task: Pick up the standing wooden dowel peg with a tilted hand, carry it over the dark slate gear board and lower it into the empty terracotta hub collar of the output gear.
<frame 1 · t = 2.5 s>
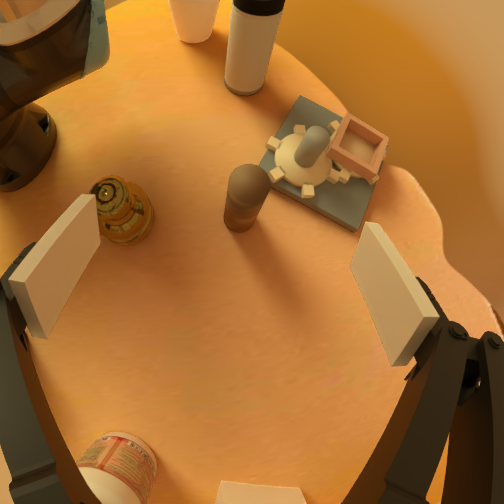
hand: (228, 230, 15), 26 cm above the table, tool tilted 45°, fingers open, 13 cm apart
wooden dowel peg: (239, 217, 42), on the table
fruit juice: (125, 458, 34), on the table
travel mug: (244, 82, 46), on the table
foam cup: (194, 33, 47), on the table
salt shaker: (128, 219, 40), on the table
gear board: (325, 160, 45), on the table
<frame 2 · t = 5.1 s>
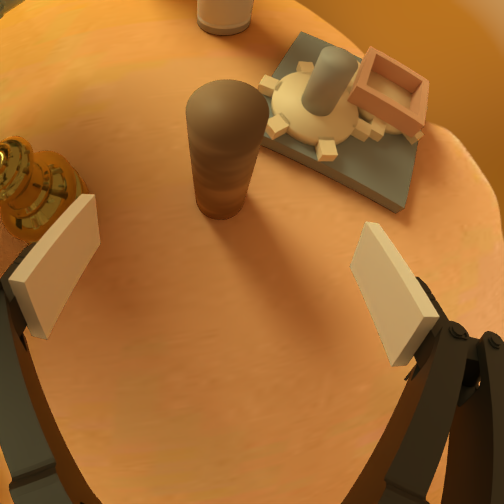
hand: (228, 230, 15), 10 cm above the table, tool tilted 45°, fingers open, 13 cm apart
wooden dowel peg: (220, 196, 26), on the table
travel mug: (224, 22, 30), on the table
salt shaker: (56, 210, 24), on the table
gear board: (344, 112, 29), on the table
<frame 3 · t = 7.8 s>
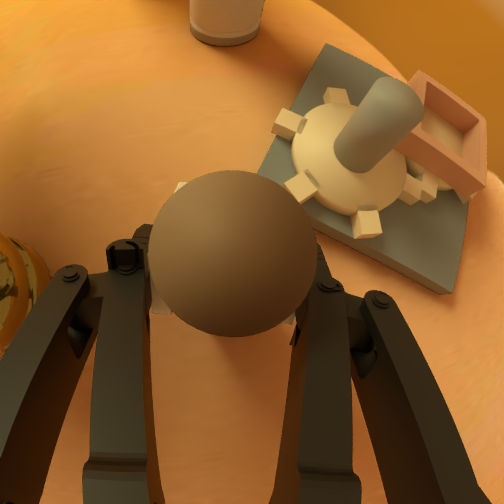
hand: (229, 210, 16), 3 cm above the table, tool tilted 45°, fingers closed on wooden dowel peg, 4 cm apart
wooden dowel peg: (221, 289, 19), on the table, touching gripper
travel mug: (225, 28, 24), on the table
salt shaker: (15, 295, 17), on the table
gear board: (383, 158, 22), on the table
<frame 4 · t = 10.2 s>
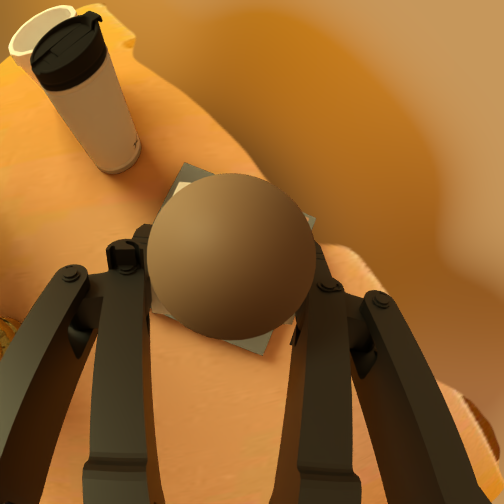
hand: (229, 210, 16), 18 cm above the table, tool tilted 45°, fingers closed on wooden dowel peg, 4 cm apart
wooden dowel peg: (220, 290, 19), point 15 cm above the table, touching gripper
travel mug: (118, 151, 35), on the table
foam cup: (71, 87, 36), on the table
salt shaker: (13, 346, 29), on the table
gear board: (220, 257, 35), on the table
when the fingers open (8 cm above the table, at t = 12.9 s): wooden dowel peg drops 1 cm, resting on gear board.
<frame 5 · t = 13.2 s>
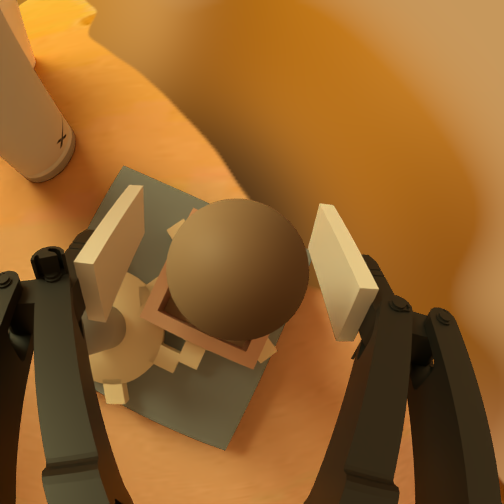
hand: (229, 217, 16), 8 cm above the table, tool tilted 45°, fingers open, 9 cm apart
wooden dowel peg: (220, 292, 20), point 3 cm above the table, touching gear board
travel mug: (49, 152, 24), on the table
foam cup: (15, 75, 25), on the table
gear board: (168, 307, 23), on the table
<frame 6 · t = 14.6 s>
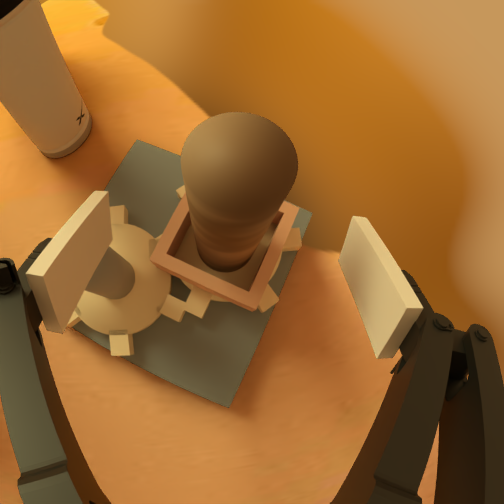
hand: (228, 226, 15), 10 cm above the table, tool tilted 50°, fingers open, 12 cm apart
wooden dowel peg: (225, 243, 22), point 3 cm above the table, touching gear board
travel mug: (67, 132, 26), on the table
gear board: (175, 266, 24), on the table
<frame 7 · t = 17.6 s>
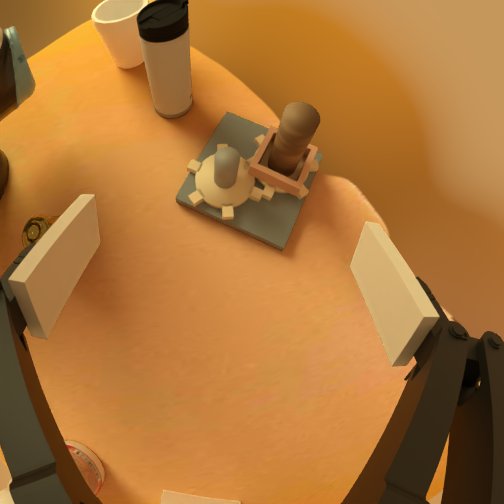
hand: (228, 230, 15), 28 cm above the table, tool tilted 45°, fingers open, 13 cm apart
wooden dowel peg: (281, 164, 43), point 3 cm above the table, touching gear board
fruit juice: (78, 464, 34), on the table
travel mug: (174, 104, 46), on the table
foam cup: (131, 58, 48), on the table
salt shaker: (67, 249, 40), on the table
gear board: (252, 177, 45), on the table
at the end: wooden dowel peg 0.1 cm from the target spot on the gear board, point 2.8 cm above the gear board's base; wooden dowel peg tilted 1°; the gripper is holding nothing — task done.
